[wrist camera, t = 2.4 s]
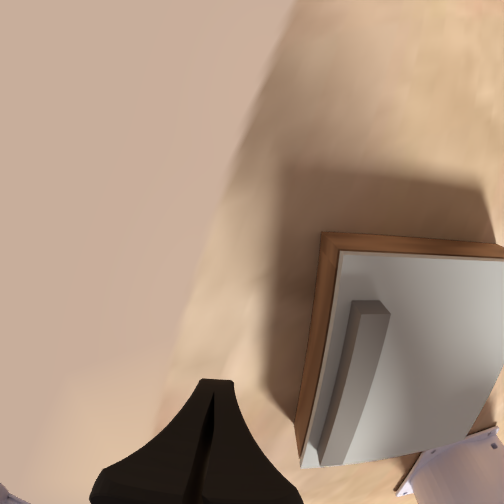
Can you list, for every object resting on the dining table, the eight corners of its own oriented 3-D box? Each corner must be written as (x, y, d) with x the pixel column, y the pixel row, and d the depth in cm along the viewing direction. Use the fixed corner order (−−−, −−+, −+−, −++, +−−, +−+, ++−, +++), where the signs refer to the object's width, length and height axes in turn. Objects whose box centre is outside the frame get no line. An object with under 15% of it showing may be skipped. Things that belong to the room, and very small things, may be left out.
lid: (531, 260, 12) (551, 270, 10) (461, 435, 16) (471, 450, 14) (339, 250, 12) (353, 265, 10) (299, 462, 15) (302, 484, 14)
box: (496, 244, 15) (528, 258, 12) (442, 406, 19) (459, 432, 16) (321, 231, 15) (337, 248, 12) (293, 424, 19) (298, 458, 16)
